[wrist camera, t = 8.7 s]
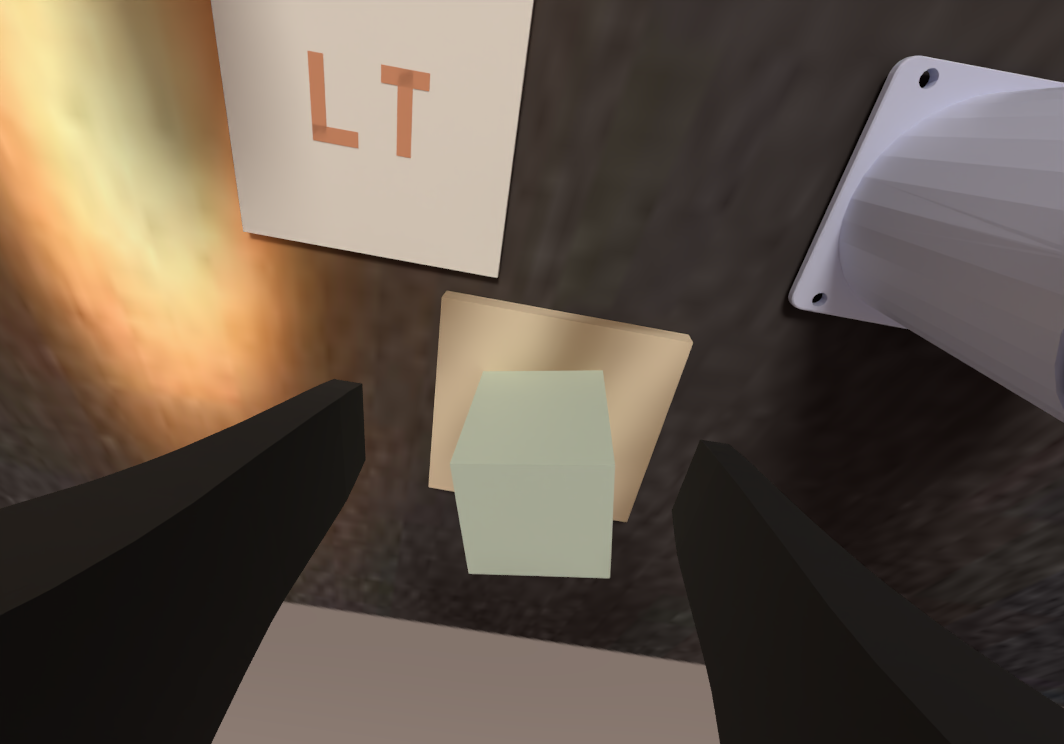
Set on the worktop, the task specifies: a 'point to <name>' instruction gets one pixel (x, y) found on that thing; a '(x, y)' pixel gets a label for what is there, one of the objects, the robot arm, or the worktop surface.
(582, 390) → the sage block
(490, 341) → the birch board
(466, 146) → the tile
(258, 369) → the worktop surface
